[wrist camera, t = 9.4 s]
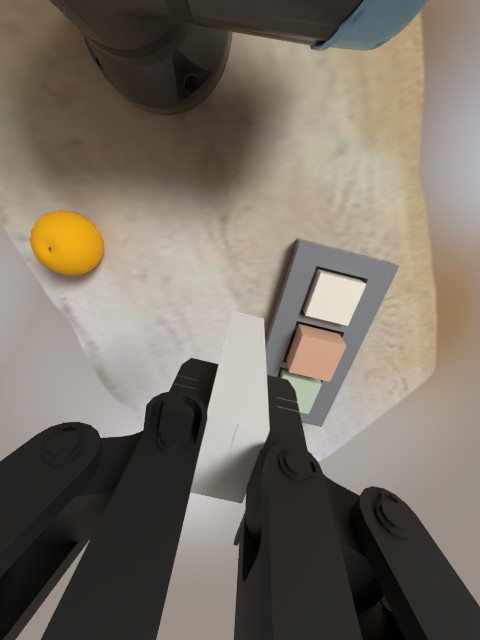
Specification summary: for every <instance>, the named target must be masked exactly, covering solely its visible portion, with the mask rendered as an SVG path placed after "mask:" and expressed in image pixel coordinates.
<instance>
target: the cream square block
mask: <svg viewBox="0 0 480 640" xmlns="http://www.w3.org/2000/svg"><path fill="white" fill-rule="evenodd" d="M365 286H366V284H365V283H364V282H363V281H361V280H360V279H359V278H357V277H354V276H350V275H346V274H342V273H338V272H334V271H330V270H326V269H322V268H318V267H316V269H315V272H314V275H313V277H312V280H311V283H310V286H309V289H308V291H307V294H306V297H305V300H304V303H303V305H302V309H303V311H304V314H305V316H309V317H313V318H317V319H321V320H325V321H330V322H334V323H338V324H342V325H346V326H348V325H349V322H350V320H351V318H352V316H353V313H354V311H355V309H356V307H357V304H358V302H359V300H360V298H361V295H362V293H363V291H364V289H365Z"/></svg>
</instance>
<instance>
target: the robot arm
mask: <svg viewBox="0 0 480 640" xmlns="http://www.w3.org/2000/svg"><path fill="white" fill-rule="evenodd" d="M50 1H51V2H52V3H53V4H54V5H55V6H56V7H57V8H58V9H59V10H60V11H61V12H62V13H63V14H64V15H65V16H66V17H67V18H68V19H69V20H70V21H71V22H72V23H73V24H74V25H75V26H76V27H78V28H79V30H80V32H81V34H82V36H83V37H84V39H85V42H86V45H87V47H88V49H89V51H90V53H91V55H92V57H93V59H94V61H95V63H96V65H97V66H98V68H99V69H100V71H101V72H102V74H103V75H104V76H105V78H106V79H107V80H108V81H109V82H110V84H111V85H112V86H113V87H114V88H115V89H116V90H117V91H118V92H120V93H121V94H122V95H123V96H124V97H126V98H127V99H128V100H129V101H131V102H132V103H134V104H135V105H137V106H138V107H140V108H142V109H144V110H147V111H149V112H152V113H157V114H165V115H170V114H178V113H182V112H185V111H187V110H189V109H191V108H193V107H195V106H196V105H198V104H199V103H201V102H202V101H203V100H204V99H205V98H206V97H207V96H208V95H209V94H210V93H211V91H212V90H213V89H214V87H215V86H216V84H217V83H218V81H219V79H220V77H221V75H222V73H223V71H224V68H225V66H226V63H227V60H228V56H229V52H230V47H231V40H232V32H237V33H242V34H248V35H254V36H260V37H265V38H271V39H277V40H282V41H288V42H294V43H299V44H305V45H310V47H311V49H313V50H317V51H320V50H325V49H327V48H329V47H332V48H342V49H352V50H361V51H366V50H372V49H375V48H378V47H380V46H381V45H383V44H384V43H386V42H387V41H389V40H390V39H391V38H392V37H394V36H396V35H397V34H399V33H400V32H401V31H402V30H403V29H404V28H405V27H406V26H407V25H408V24H409V23H410V22H411V21H412V20H413V19H414V18H415V17H416V15H417V14H418V13H419V12H420V11H421V10H422V8H423V7H424V6H425V5H426V3H427V2H428V1H429V0H50ZM190 492H191V493H196V494H201V495H205V496H211V497H215V498H219V499H224V500H228V501H233V502H238V503H242V502H243V499H244V497H245V494H246V511H245V514H244V516H243V518H242V521H241V523H240V526H239V528H238V531H237V533H236V537H235V540H234V545H238V544H239V559H238V576H237V594H236V611H235V612H236V613H235V629H234V640H480V607H479V605H478V604H477V602H476V601H475V599H474V598H473V596H472V595H471V594H470V592H469V591H468V589H467V588H466V586H465V585H464V583H463V582H462V580H461V579H460V578H459V576H458V575H457V573H456V572H455V570H454V569H453V568H452V566H451V565H450V563H449V562H448V560H447V559H446V557H445V556H444V554H443V553H442V552H441V550H440V549H439V547H438V546H437V545H436V543H435V541H434V540H433V539H432V537H431V536H430V534H429V533H428V531H427V530H426V528H425V527H424V526H423V524H422V523H421V521H420V520H419V518H418V517H417V516H416V514H415V513H414V512H413V511H412V510H411V509H410V507H409V506H408V505H407V504H406V503H405V502H404V501H402V500H401V499H400V498H399V497H397V496H396V495H395V494H393V493H391V492H389V491H387V490H385V489H383V488H378V487H373V486H372V487H369V488H366V489H364V490H363V492H362V493H361V495H360V496H359V495H357V494H355V493H354V492H351V491H350V490H348V489H346V488H344V487H342V486H340V485H338V484H337V483H335V482H333V481H332V480H330V479H328V478H327V477H326V476H325V475H324V474H323V472H322V470H321V468H320V465H319V463H318V462H317V460H316V459H315V458H314V457H313V456H312V454H311V453H309V452H308V450H307V446H306V441H305V436H304V431H303V426H302V421H301V416H300V413H299V406H298V403H297V396H296V391H295V389H294V388H293V386H292V385H291V383H290V382H289V381H288V380H287V379H283V378H279V377H274V376H270V375H267V369H266V350H265V331H264V318H259V317H255V316H251V315H247V314H243V313H239V312H235V311H232V312H231V316H230V320H229V324H228V328H227V333H226V337H225V341H224V345H223V349H222V353H221V357H220V361H219V364H215V363H211V362H206V361H202V360H198V359H194V358H191V359H189V360H188V361H186V362H185V363H184V364H182V365H181V368H180V370H179V372H178V374H177V376H176V378H175V380H174V382H173V385H172V387H171V389H170V391H169V392H166V393H162V394H160V395H158V396H156V397H154V398H153V399H152V400H151V401H150V402H149V403H148V404H147V405H146V413H145V422H144V430H143V431H141V432H139V433H136V434H133V435H130V436H123V437H109V438H100V436H99V433H98V431H97V430H96V429H94V428H93V427H92V426H91V425H88V424H84V423H80V422H68V423H62V424H59V425H55V426H52V427H50V428H48V429H46V430H44V431H42V432H41V433H39V434H37V435H36V436H34V437H33V438H31V439H30V440H29V441H27V442H26V443H25V444H23V445H22V446H21V447H19V448H18V449H17V450H16V451H14V452H13V453H11V454H10V455H9V456H7V457H6V458H5V459H3V460H2V461H0V640H15V639H16V638H17V637H18V635H19V634H20V633H21V631H22V630H23V629H24V627H25V626H26V625H27V623H28V622H29V621H30V619H31V618H32V617H33V615H34V614H35V612H36V611H37V610H38V608H39V607H40V606H41V604H42V603H43V602H44V600H45V599H46V598H47V596H48V595H49V594H50V592H51V591H52V590H53V588H54V587H55V586H56V584H57V583H58V581H59V580H60V579H61V577H62V576H63V575H64V573H65V572H66V571H67V569H68V568H69V567H70V565H71V564H72V563H73V561H74V560H75V559H76V557H77V556H78V555H79V553H80V552H81V551H82V549H83V548H84V546H85V545H86V544H87V542H88V541H89V540H90V541H89V543H88V546H87V547H86V550H85V552H84V554H83V555H82V557H81V560H80V562H79V564H78V566H77V568H76V570H75V572H74V574H73V576H72V578H71V580H70V582H69V584H68V586H67V588H66V590H65V592H64V594H63V596H62V598H61V600H60V602H59V604H58V606H57V608H56V610H55V612H54V614H53V616H52V618H51V620H50V622H49V624H48V626H47V628H46V630H45V632H44V634H43V637H42V638H41V640H156V638H157V633H158V629H159V625H160V620H161V616H162V611H163V607H164V603H165V599H166V594H167V590H168V586H169V581H170V577H171V573H172V569H173V564H174V559H175V556H176V551H177V547H178V542H179V538H180V534H181V530H182V525H183V521H184V517H185V513H186V508H187V504H188V500H189V495H190Z"/></svg>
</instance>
